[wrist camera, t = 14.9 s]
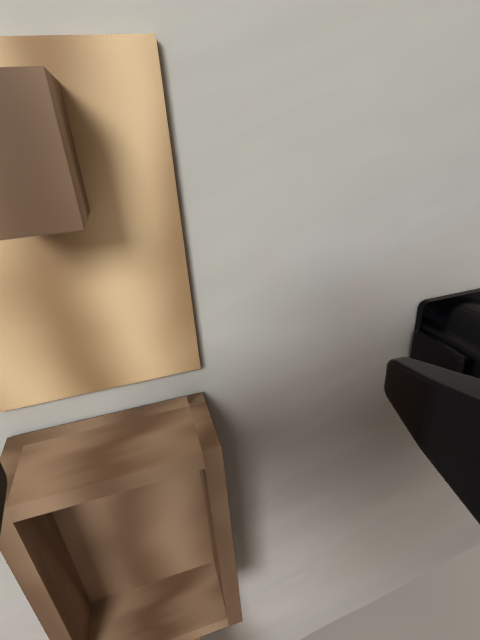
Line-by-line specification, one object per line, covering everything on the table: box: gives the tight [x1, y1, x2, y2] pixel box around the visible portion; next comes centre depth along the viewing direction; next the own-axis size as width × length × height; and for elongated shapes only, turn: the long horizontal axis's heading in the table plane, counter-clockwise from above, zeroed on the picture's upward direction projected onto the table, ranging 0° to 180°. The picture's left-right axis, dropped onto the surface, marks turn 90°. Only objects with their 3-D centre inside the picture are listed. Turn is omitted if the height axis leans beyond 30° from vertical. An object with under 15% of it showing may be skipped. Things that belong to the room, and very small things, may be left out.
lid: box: [0, 34, 201, 412], centre depth 16 cm, size 11×16×5 cm
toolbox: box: [0, 392, 242, 640], centre depth 24 cm, size 11×19×6 cm, turn 4°
